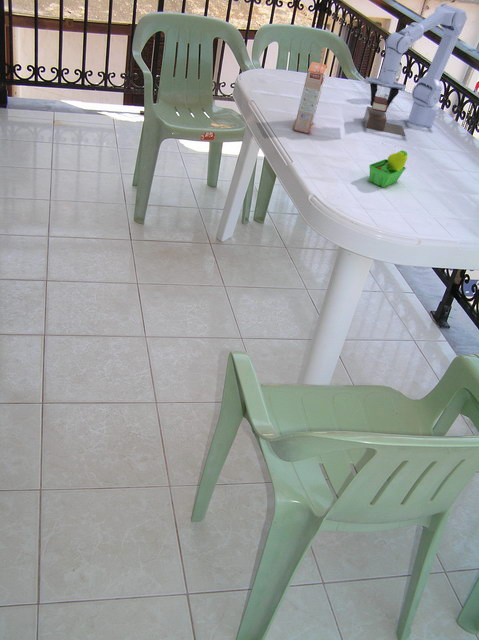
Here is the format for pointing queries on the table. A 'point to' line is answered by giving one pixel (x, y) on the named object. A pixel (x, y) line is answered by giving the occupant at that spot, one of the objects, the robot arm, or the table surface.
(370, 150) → the table surface
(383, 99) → the red hardcover book
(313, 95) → the cracker box
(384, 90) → the beer glass
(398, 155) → the fruit basket
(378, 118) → the book rack
